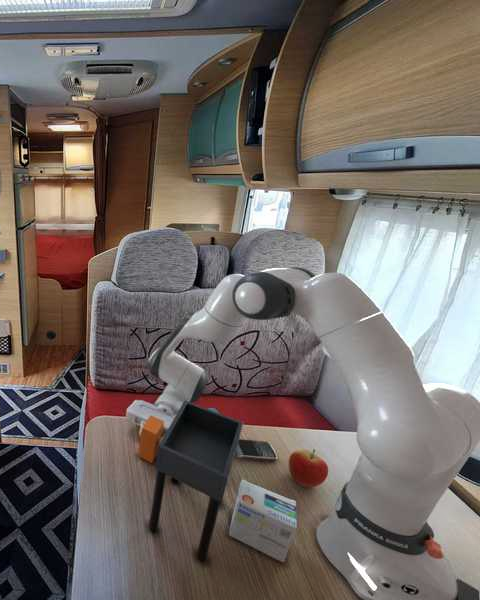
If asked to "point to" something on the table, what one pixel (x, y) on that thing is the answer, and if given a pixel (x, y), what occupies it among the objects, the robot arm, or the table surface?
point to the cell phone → (255, 450)
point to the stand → (208, 523)
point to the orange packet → (150, 438)
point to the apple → (307, 468)
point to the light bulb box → (264, 520)
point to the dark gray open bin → (200, 449)
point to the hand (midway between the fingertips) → (150, 439)
